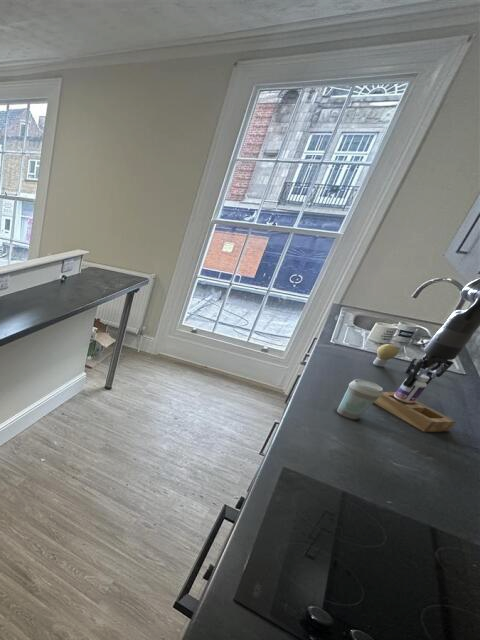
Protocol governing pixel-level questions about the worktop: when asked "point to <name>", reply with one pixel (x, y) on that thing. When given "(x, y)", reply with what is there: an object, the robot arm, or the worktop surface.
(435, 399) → the worktop surface
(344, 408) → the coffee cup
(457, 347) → the robot arm
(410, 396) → the pill bottle
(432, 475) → the worktop surface
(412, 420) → the tray
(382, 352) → the light bulb
